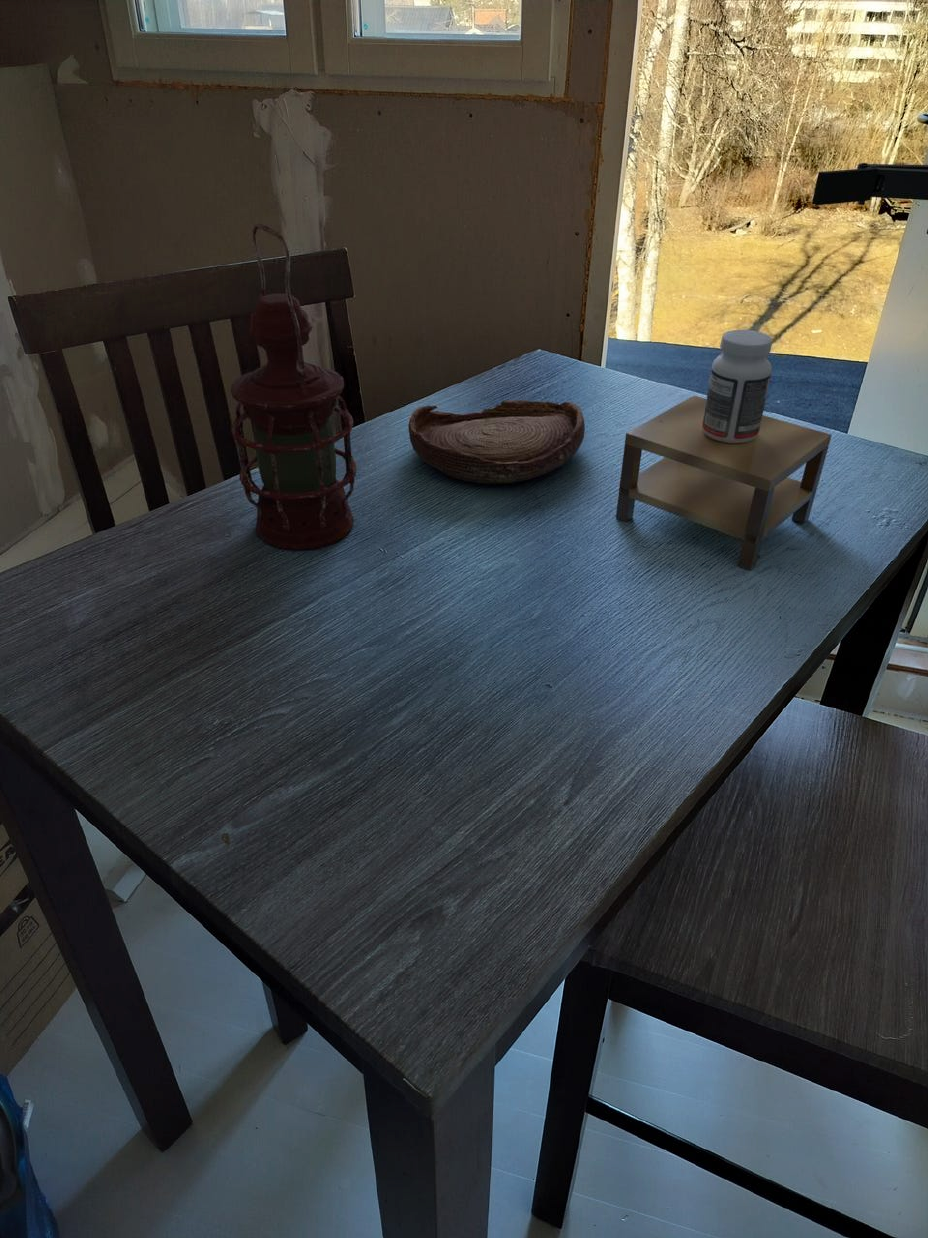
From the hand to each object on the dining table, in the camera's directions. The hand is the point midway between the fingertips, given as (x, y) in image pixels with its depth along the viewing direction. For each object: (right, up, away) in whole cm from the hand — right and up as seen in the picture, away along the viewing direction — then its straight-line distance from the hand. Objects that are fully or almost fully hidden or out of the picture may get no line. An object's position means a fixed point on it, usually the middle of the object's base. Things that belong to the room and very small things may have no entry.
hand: (872, 201), depth 74 cm
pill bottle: (-8, -17, +14) cm, 24 cm away
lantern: (-53, -27, +18) cm, 62 cm away
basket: (-31, -16, +33) cm, 48 cm away
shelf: (-8, -25, +19) cm, 33 cm away
